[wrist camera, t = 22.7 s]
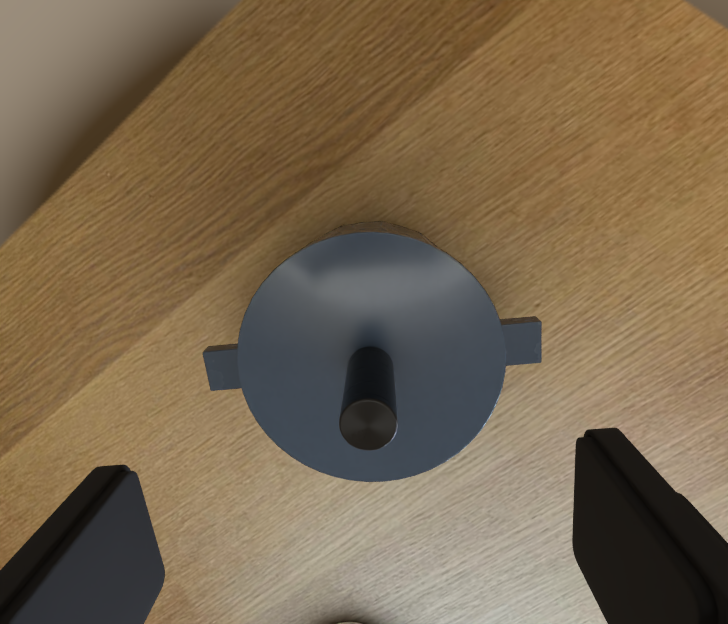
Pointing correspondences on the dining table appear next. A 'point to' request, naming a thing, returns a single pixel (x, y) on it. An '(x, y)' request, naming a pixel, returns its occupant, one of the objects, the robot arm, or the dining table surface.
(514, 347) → the pot
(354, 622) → the mug
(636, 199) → the dining table surface
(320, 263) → the lid
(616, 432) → the robot arm
